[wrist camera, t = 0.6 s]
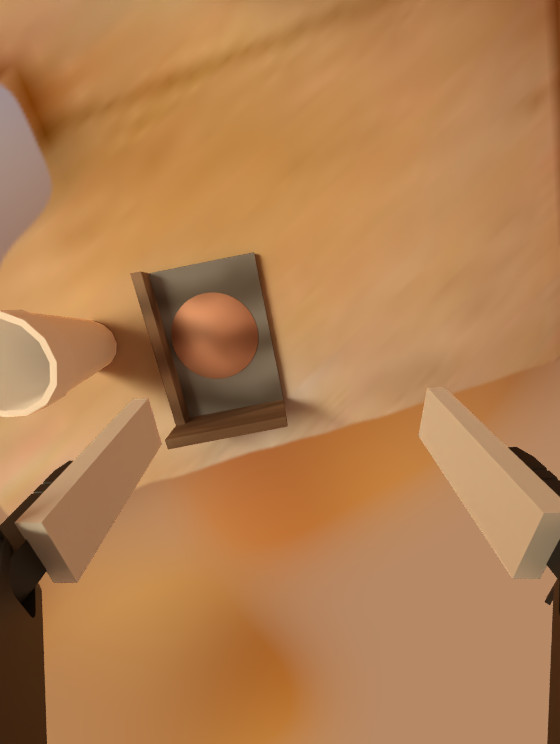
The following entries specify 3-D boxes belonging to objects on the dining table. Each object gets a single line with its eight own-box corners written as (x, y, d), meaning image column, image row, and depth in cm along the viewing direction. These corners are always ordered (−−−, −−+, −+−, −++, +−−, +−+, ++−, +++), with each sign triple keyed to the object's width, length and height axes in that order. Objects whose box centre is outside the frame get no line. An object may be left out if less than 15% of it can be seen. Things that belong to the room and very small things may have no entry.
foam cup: (47, 364, 38) (-66, 394, 25) (63, 296, 36) (-51, 292, 23) (119, 389, 39) (45, 430, 26) (137, 325, 37) (68, 336, 24)
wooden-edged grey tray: (141, 276, 36) (111, 269, 29) (254, 253, 35) (250, 241, 29) (185, 424, 40) (167, 449, 33) (284, 405, 40) (287, 426, 33)
